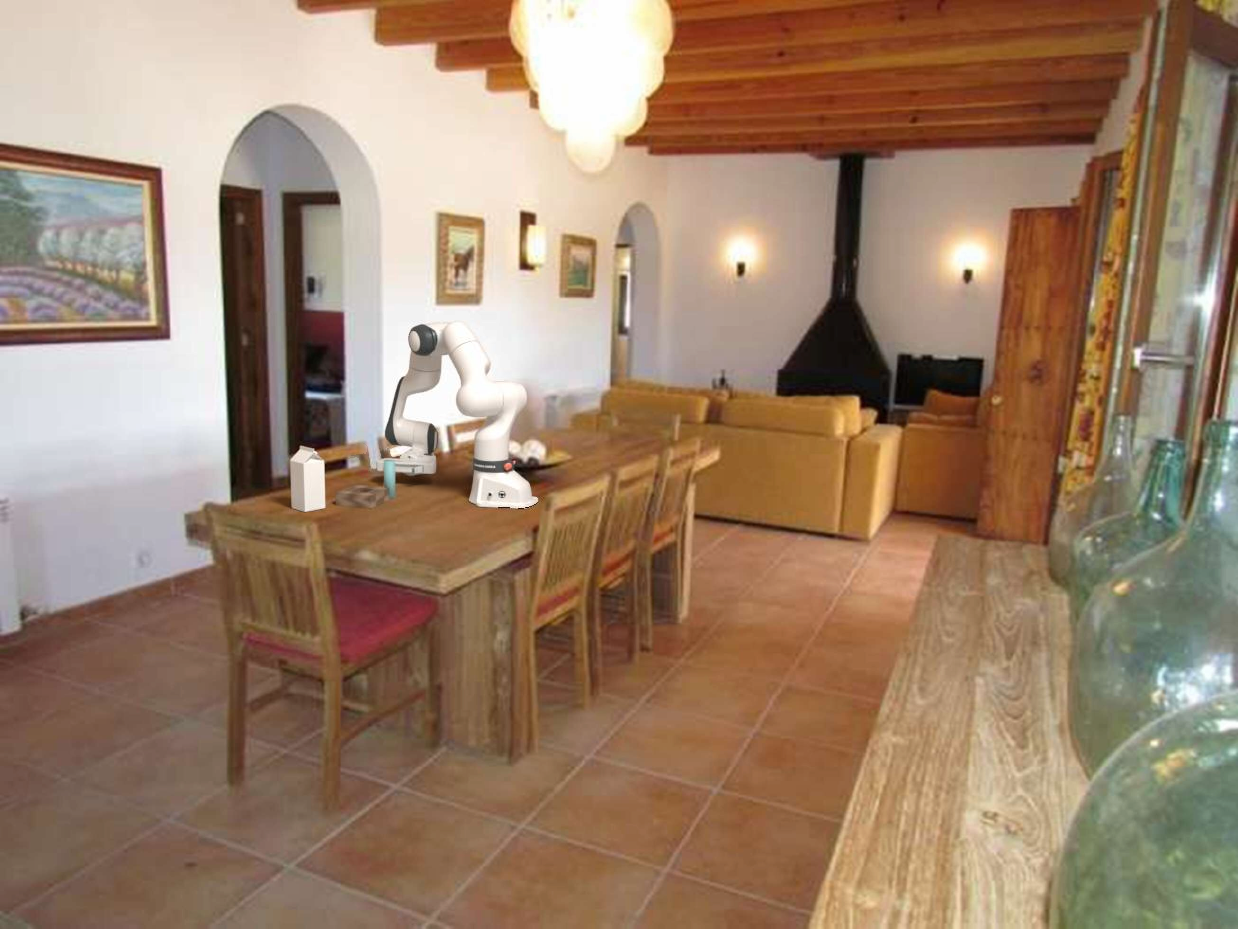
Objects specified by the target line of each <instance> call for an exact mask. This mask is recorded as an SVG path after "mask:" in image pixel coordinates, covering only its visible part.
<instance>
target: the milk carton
mask: <svg viewBox="0 0 1238 929" xmlns="http://www.w3.org/2000/svg"><path fill="white" fill-rule="evenodd" d="M289 465H290V466H289V467H290V468H289V469H290V471H289V472H290V497H291V509H294V510H297V511H300V512H304V513H307V512H312V511H318V510H322V509H326V481H325V480H326V479H325V477H326V476H325V460H324V459H323V458H322V457H321V456H320V455H318V452H317V451H315V448H312V447H307V446H304V445H300V446H299V450H298V451H297V452H296V453H295V454H294V455H293V457H292V456H291V459H290V460H289Z"/></svg>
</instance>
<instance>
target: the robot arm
mask: <svg viewBox="0 0 1238 929" xmlns="http://www.w3.org/2000/svg"><path fill="white" fill-rule="evenodd" d="M407 341H408V345H409V348H410V354H409V355H410V356H409V364H408V365H409V366H408V370H407V373H406V374H405V375H404V376H401V377H400V379H399V381H397V382H398V383H397V385H396V388H395V392H394V396H393V400H392V404H391V407H390V408H391V409H390V412H389V417H388V420H387V422H386V426H385V428H384V429H385V430H384V438H385V439H386V441H387V442H388V443H389V445H391V446H400V447H401V446H403V447H404V446H405V447H408V448H410V449H408V450H407V451H405V452H403V453H402V454H401V455H400V456H399V457H398V458H396V457H384V458H380V459H378V460H377V461H376V463H375V467H376V471H377V472H384V460H395V473H403V474H404V475H406V476H409V477H415V476H420V475H425V474H427V475H433V474H436V472H437V457H436V455H435V451H436V449H437V447H438V444H439V432H438V430H437V428H436V426H435V425H434V424H433V423H430V422H427V421H420V420H412V419H409V418H408V419H407V418H405V417H404V412H405V407H406V403H407V399H408V397H409V396H412V395H415V394H420V393H425V392H428V391H431V390H432V389H434V388H435V387H436V386H438V384H439V383H440V381H441V375H442V363H443V362H442V359H443V356H448V357H449V359H450V360H451V363H452V364H453V367H454V369H455V370H456V372H457V374H458V376H459V378H460V380H459V381H460V387H459V388H458V390H457V392H456V396H455V404H456V407H457V409H458V411H459V413H460V414H461V415H462V416H465V417H472V418H486V419H485V421H484V423H483V425H482V426H481V427H480V428H479V429H478V430H477V431H476V432H475V435H474V439H473V440H474V441H473V442H474V443H473V447H474V449H473V451H474V455H473V456H474V457H473V458H472V474H473V476H472V477H473V478H472V484H471V491H470V495H469V498H468V501H469V502H470V503H472V504H474V505H475V506H477V507H483V508H498V507H510V508H509V509H518V508H524V509H526V508H525V507H529V506H532V505H534V504H536V503H537V502H538V503H539V498H538V497H537V496H533V494H532V488H531V485H530V482H529V481H528V480H526V479H525V478H524V477H523V476H521V475H520V474H519V473H518V472H517V471H515V464H516V460H512V459H511V458H510V457H509V455H510V453H509V450H510V449H509V448H510V438H511V437H510V436H511V431H512V428H513V425H514V423H515V421H516V418H517V417H518V416H519V413H520V412H521V411H523V410H524V408H525V407H526V405H527V402H528V394H527V391H526V389H525V387H524V386H523V385H522V384H521V383H519V382H516V381H510V380H499V381H491V380H490V379H489V378H488V377H487V375H488V373H489V372H490V370H491V365H492V362H491V359H490V358H489V356H488V354H487V352H486V351H485V349H484V347H483V346H482V344H481V342H480V340H479V339H478V337H477V336H476V334H475V332H473V331H472V329H471V327H469V326H468V325H467V324H466V323H465V322H463V321H460V320H459V321H458V320H456V321H452V322H448V321H447V322H446V321H445V322H444V321H443V322H442V321H441V322H440V321H437V322H429V323H425V324H424V323H420V324H417V325H415V326H413V327H412V328H410V331H409V333H408V338H407ZM538 503H537V504H538ZM537 504H536V505H537ZM534 506H535V505H534ZM532 507H533V506H532ZM529 508H530V507H529Z"/></svg>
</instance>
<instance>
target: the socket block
mask: <svg viewBox="0 0 1238 929" xmlns="http://www.w3.org/2000/svg"><path fill="white" fill-rule="evenodd" d="M389 501H390V498H389V488H384V486H383V487H382V486H372V485H362V484H354V485H351V486H348V487H346V488H344V489H340V490H339V491H335V506H342V507H350V508H351V507H353V508H360V507H361V509H362V508H363V509H370V508H371V509H373V508H376V507H378V506H379V504H380V505H382V504H383V503H387V502H389ZM381 503H382V504H381ZM377 505H378V506H377Z"/></svg>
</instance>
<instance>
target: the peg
mask: <svg viewBox="0 0 1238 929" xmlns="http://www.w3.org/2000/svg"><path fill="white" fill-rule="evenodd" d="M383 487H384V488H389V499H394V498H396V472H395V460H384V471H383Z"/></svg>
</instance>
